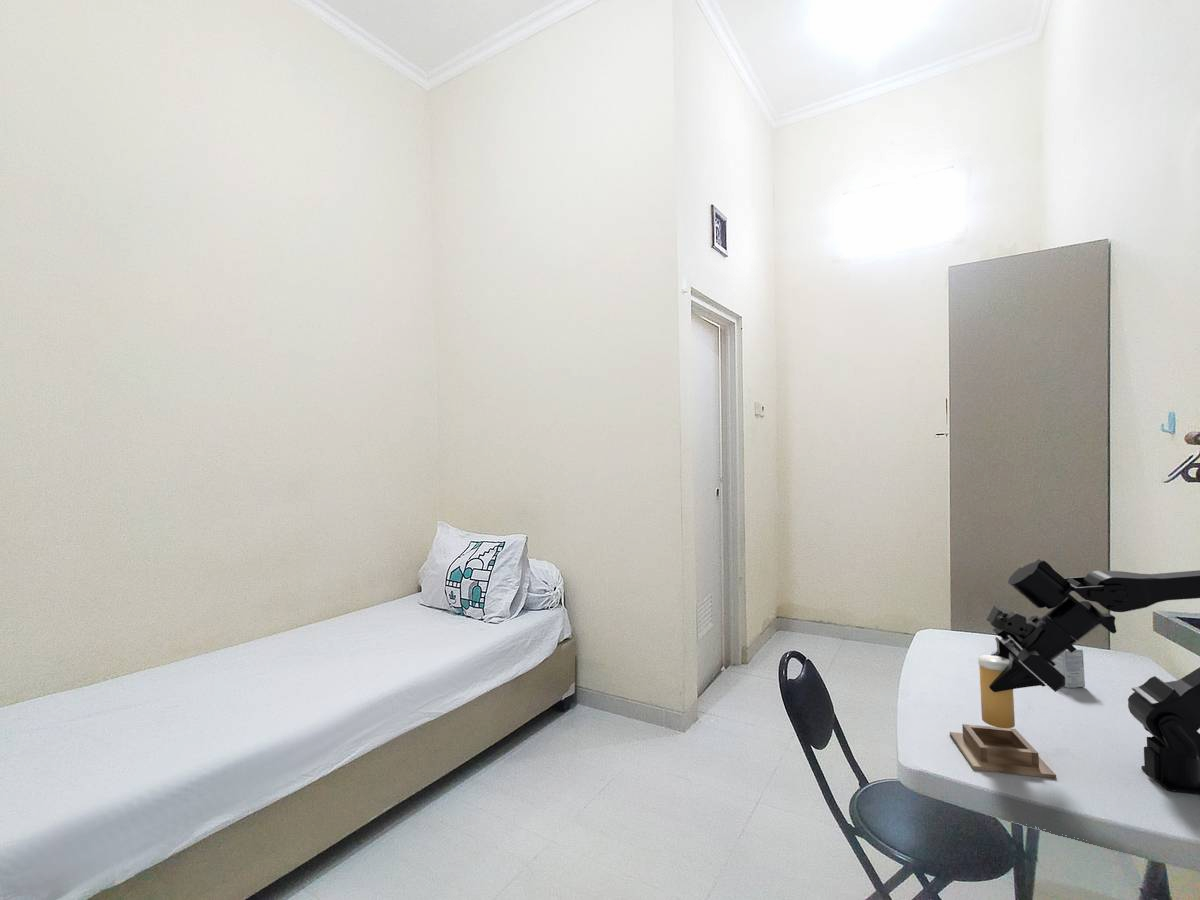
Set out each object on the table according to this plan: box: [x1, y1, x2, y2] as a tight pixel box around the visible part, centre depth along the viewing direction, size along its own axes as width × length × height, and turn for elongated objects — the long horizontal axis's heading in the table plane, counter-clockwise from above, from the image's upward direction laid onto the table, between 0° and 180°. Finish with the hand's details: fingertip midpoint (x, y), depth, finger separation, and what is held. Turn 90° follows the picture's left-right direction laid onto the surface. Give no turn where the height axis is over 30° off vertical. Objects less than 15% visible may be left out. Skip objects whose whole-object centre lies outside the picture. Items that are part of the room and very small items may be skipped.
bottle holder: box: [949, 723, 1057, 779], centre depth 99 cm, size 12×12×3 cm
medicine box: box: [1052, 646, 1086, 689], centre depth 129 cm, size 8×4×9 cm, turn 179°
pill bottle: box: [977, 654, 1016, 729], centre depth 99 cm, size 5×5×11 cm
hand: (987, 683), depth 100 cm, fingers closed on pill bottle, 5 cm apart
